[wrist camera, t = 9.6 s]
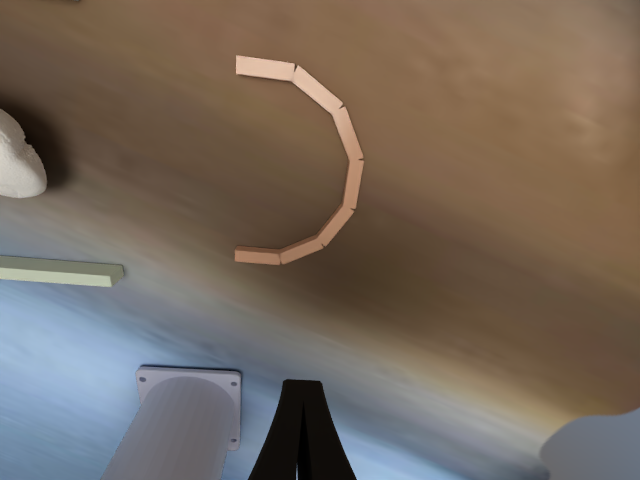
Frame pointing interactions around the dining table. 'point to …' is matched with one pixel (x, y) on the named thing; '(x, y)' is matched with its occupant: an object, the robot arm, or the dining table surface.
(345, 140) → the segmented c-shaped arc
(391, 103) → the dining table surface
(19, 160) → the dumpling
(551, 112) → the dining table surface
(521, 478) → the dining table surface
